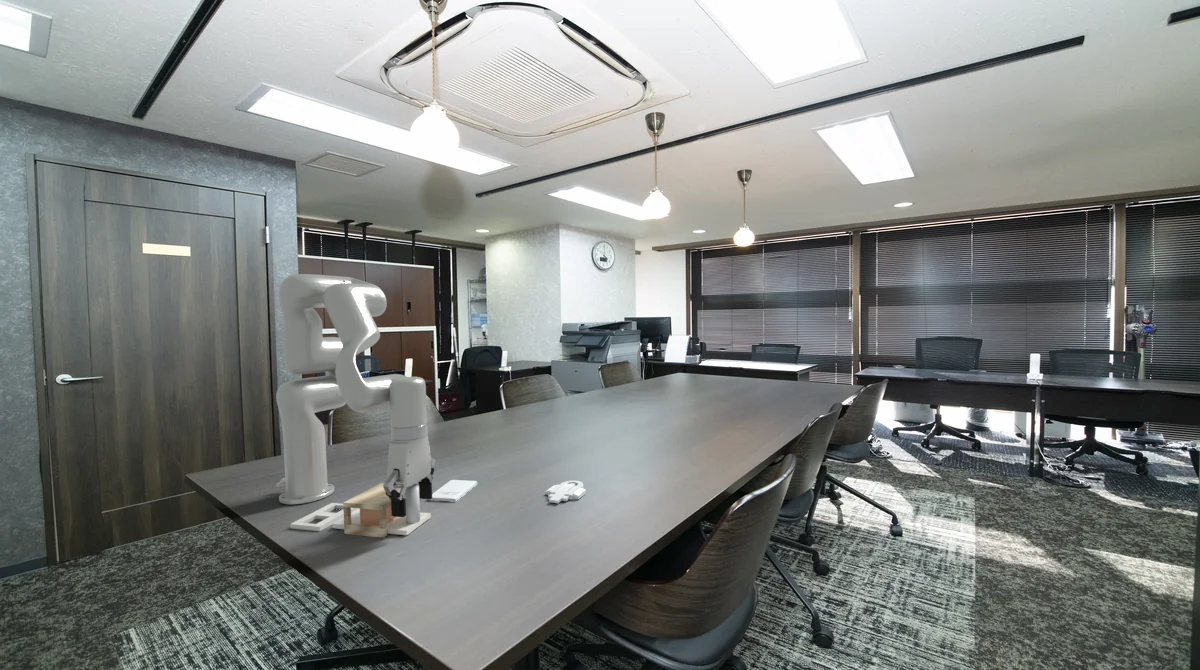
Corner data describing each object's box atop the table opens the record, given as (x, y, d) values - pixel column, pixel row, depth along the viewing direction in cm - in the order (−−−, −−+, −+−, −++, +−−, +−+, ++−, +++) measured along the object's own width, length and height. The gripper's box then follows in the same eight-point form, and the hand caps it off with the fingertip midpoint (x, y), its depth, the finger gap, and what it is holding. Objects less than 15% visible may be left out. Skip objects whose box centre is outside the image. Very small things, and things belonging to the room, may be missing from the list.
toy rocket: (570, 508, 113) (570, 499, 113) (536, 503, 117) (536, 494, 117) (596, 486, 128) (596, 478, 128) (565, 482, 132) (565, 474, 132)
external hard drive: (477, 486, 130) (456, 504, 118) (450, 485, 131) (426, 502, 119) (477, 480, 130) (455, 498, 118) (450, 479, 131) (426, 496, 119)
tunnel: (344, 533, 102) (343, 502, 101) (381, 510, 113) (380, 482, 113) (384, 537, 99) (382, 505, 99) (417, 514, 111) (416, 485, 111)
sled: (332, 528, 104) (330, 488, 104) (361, 511, 113) (360, 475, 112) (406, 535, 100) (405, 494, 99) (430, 517, 109) (429, 479, 108)
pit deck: (290, 528, 105) (290, 523, 105) (332, 506, 117) (331, 502, 117) (319, 531, 103) (319, 526, 103) (359, 508, 115) (358, 505, 115)
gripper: (418, 422, 113) (421, 491, 114) (367, 442, 96) (371, 522, 97) (445, 423, 111) (448, 493, 112) (399, 443, 94) (403, 525, 95)
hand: (412, 507), depth 104 cm, fingers open, 9 cm apart
